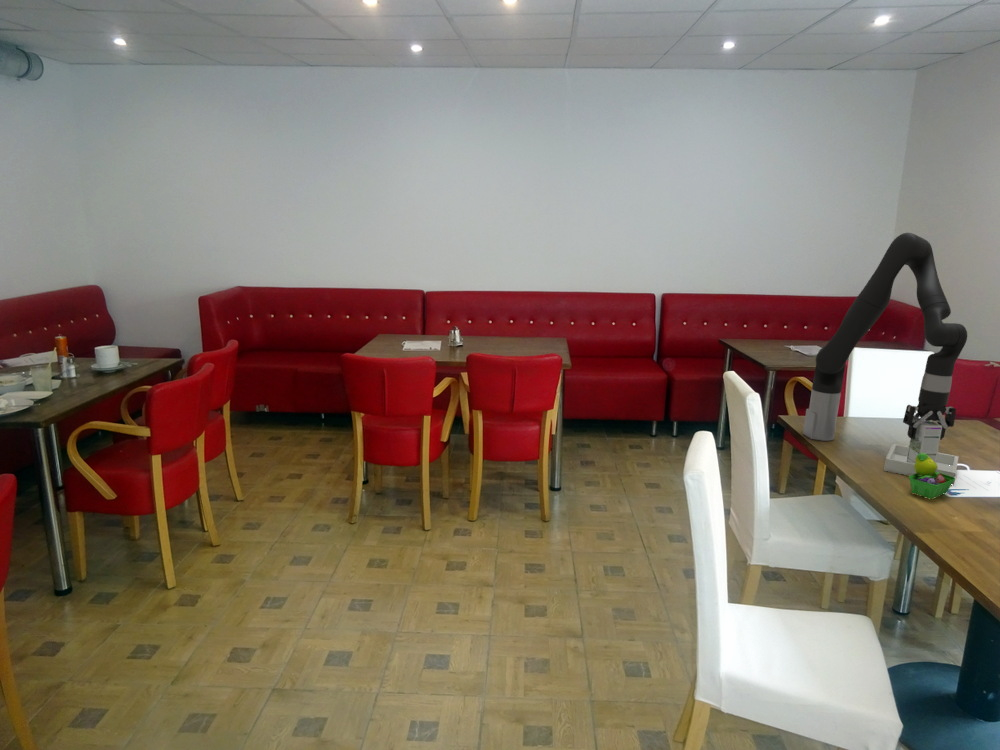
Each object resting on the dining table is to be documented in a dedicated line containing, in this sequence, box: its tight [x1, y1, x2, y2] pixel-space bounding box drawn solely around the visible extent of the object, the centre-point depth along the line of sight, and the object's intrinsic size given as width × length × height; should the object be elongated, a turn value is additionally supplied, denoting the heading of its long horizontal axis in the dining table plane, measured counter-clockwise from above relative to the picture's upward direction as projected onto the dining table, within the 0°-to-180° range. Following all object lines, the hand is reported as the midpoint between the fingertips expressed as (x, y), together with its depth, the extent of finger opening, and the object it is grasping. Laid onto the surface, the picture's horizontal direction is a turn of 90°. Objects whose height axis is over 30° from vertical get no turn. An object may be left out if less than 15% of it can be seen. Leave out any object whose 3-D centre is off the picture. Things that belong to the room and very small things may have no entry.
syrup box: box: [907, 420, 942, 464], centre depth 202 cm, size 6×6×14 cm
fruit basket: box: [908, 453, 956, 500], centre depth 185 cm, size 11×9×11 cm
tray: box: [883, 443, 959, 485], centre depth 203 cm, size 18×18×4 cm
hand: (925, 438), depth 201 cm, fingers open, 8 cm apart
